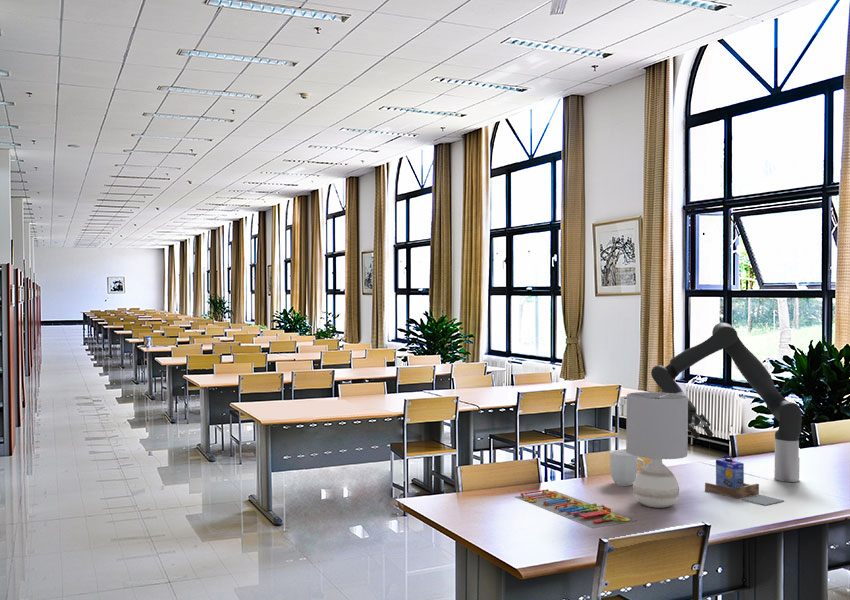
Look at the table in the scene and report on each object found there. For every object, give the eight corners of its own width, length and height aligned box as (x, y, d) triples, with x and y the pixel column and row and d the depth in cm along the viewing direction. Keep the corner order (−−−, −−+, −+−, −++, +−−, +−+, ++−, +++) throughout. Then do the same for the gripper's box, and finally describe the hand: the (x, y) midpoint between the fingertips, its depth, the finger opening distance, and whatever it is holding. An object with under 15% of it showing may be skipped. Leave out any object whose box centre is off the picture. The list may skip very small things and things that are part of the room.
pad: (760, 495, 297) (760, 494, 297) (784, 501, 289) (784, 500, 289) (741, 499, 291) (741, 498, 291) (765, 505, 282) (765, 504, 282)
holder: (725, 486, 312) (725, 476, 312) (758, 494, 299) (758, 484, 299) (705, 490, 305) (705, 480, 305) (738, 498, 292) (738, 488, 292)
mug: (637, 480, 321) (638, 449, 321) (651, 486, 310) (651, 454, 310) (605, 481, 318) (605, 450, 318) (617, 488, 307) (617, 455, 307)
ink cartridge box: (714, 489, 306) (715, 453, 306) (724, 488, 309) (725, 452, 309) (734, 495, 297) (734, 458, 297) (744, 494, 300) (744, 457, 300)
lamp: (644, 494, 298) (645, 390, 298) (697, 505, 282) (698, 396, 282) (614, 504, 282) (615, 395, 282) (668, 516, 267) (669, 401, 267)
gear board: (636, 515, 262) (593, 522, 252) (636, 522, 262) (593, 530, 252) (554, 486, 301) (514, 492, 292) (554, 492, 301) (514, 498, 292)
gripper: (676, 400, 317) (699, 432, 307) (698, 398, 325) (721, 430, 315) (666, 411, 321) (687, 443, 312) (688, 409, 329) (710, 440, 320)
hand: (704, 436), depth 314 cm, fingers open, 8 cm apart
